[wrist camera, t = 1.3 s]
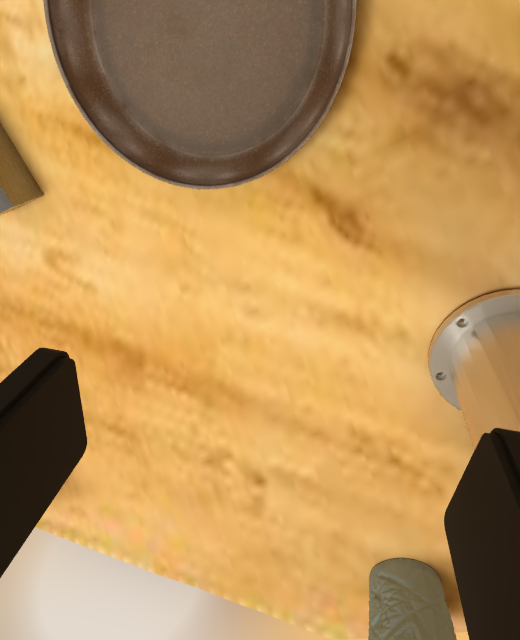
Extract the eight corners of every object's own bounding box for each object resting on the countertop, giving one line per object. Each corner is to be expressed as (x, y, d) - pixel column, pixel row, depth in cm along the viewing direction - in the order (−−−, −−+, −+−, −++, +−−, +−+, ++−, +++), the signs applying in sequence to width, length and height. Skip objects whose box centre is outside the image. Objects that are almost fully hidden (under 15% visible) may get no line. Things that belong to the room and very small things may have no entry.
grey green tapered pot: (352, 559, 55) (352, 671, 44) (434, 547, 51) (455, 667, 41) (382, 606, 58) (388, 720, 48) (460, 599, 55) (486, 721, 44)
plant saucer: (19, 33, 33) (-13, 29, 30) (188, -296, 24) (165, -347, 21) (216, 231, 38) (204, 244, 35) (423, 23, 28) (430, 17, 25)
